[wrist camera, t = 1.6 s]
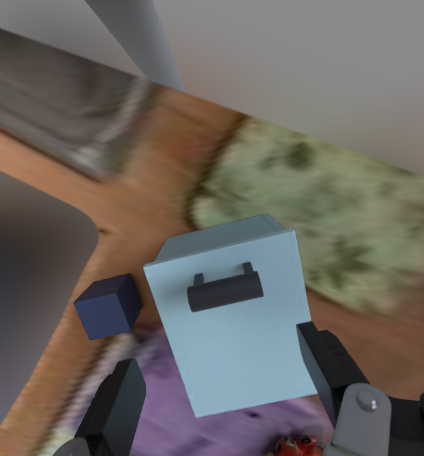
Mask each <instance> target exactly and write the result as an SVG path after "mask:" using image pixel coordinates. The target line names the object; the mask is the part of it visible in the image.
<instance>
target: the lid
mask: <svg viewBox="0 0 424 456" xmlns="http://www.w3.org/2000/svg"><path fill="white" fill-rule="evenodd" d="M143 269H144V272H145V275H146V278H147V281H148V283H149V286H150V289H151V292H152V295H153V298H154V301H155V303H156V306H157V309H158V312H159V315H160V318H161V320H162V323H163V326H164V329H165V332H166V335H167V338H168V340H169V343H170V346H171V349H172V352H173V355H174V358H175V360H176V363H177V366H178V369H179V372H180V375H181V378H182V380H183V383H184V386H185V389H186V392H187V395H188V397H189V400H190V403H191V406H192V409H193V412H194V415H195V417H196V418H197V417H202V416H207V415H212V414H217V413H222V412H227V411H232V410H237V409H242V408H247V407H252V406H257V405H262V404H267V403H272V402H277V401H282V400H287V399H292V398H297V397H302V396H307V395H312V394H317V393H318V392H317V390H316V388H315V386H314V384H313V382H312V379H311V377H310V375H309V373H308V371H307V368H306V366H305V364H304V361H303V358H302V355H301V351H300V346H299V341H298V335H297V330H296V324H299V323H304V322H309V321H311V319H310V313H309V307H308V302H307V296H306V291H305V285H304V280H303V274H302V269H301V263H300V257H299V252H298V246H297V241H296V235H295V231H294V230H293V229H287V230H283V231H279V232H275V233H270V234H266V235H262V236H258V237H254V238H250V239H246V240H242V241H237V242H233V243H229V244H225V245H221V246H217V247H213V248H209V249H204V250H200V251H196V252H192V253H188V254H184V255H180V256H175V257H171V258H167V259H163V260H159V261H155V262H151V263H147V264H145V265H144V267H143Z"/></svg>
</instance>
